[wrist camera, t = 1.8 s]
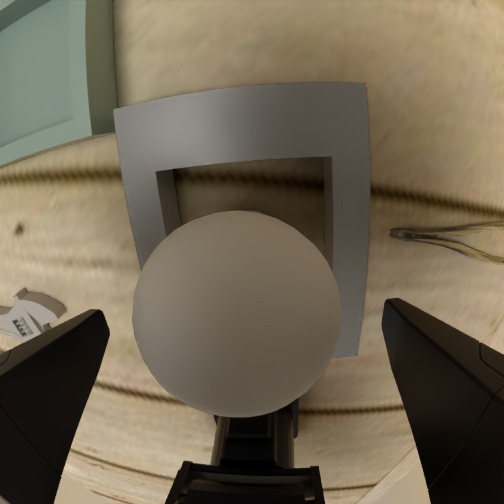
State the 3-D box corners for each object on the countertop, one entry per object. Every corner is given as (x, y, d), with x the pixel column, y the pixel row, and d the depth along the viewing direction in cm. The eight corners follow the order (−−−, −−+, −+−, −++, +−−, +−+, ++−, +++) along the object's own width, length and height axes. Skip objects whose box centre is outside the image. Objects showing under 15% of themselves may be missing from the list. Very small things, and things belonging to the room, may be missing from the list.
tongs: (384, 208, 16) (398, 219, 14) (529, 210, 16) (546, 219, 14) (377, 274, 18) (389, 291, 16) (518, 262, 17) (533, 274, 16)
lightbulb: (191, 171, 16) (64, 262, 5) (313, 171, 15) (390, 268, 5) (199, 278, 18) (133, 442, 8) (307, 280, 18) (336, 455, 7)
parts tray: (120, 131, 15) (92, 135, 12) (-4, 169, 16) (-33, 180, 13) (114, -35, 11) (90, -53, 8) (-9, 32, 12) (-37, 29, 9)
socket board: (349, 329, 19) (357, 355, 16) (177, 336, 20) (167, 361, 17) (351, 88, 13) (366, 83, 11) (135, 109, 14) (113, 109, 12)
